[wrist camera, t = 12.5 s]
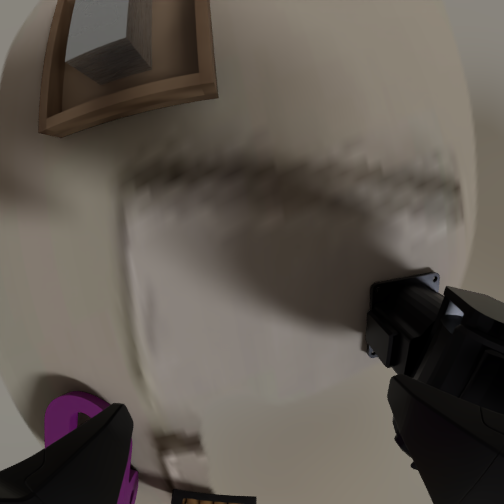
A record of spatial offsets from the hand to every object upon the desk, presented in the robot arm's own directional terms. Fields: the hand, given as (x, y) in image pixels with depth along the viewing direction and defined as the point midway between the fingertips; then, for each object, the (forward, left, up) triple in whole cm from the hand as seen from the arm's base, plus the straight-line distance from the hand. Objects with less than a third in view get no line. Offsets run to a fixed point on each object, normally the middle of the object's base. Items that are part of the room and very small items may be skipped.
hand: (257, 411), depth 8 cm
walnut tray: (+7, -20, -12) cm, 24 cm away
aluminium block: (+7, -20, -11) cm, 24 cm away
